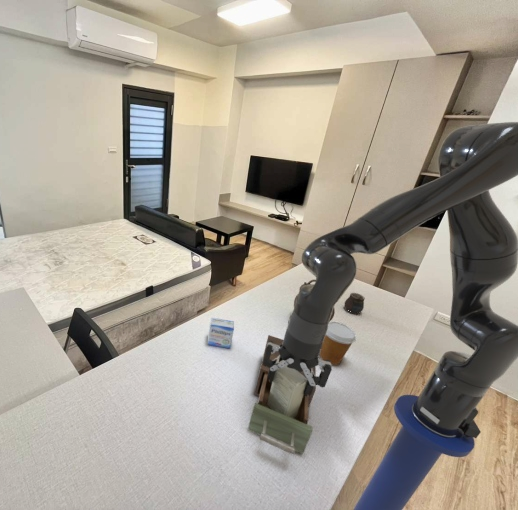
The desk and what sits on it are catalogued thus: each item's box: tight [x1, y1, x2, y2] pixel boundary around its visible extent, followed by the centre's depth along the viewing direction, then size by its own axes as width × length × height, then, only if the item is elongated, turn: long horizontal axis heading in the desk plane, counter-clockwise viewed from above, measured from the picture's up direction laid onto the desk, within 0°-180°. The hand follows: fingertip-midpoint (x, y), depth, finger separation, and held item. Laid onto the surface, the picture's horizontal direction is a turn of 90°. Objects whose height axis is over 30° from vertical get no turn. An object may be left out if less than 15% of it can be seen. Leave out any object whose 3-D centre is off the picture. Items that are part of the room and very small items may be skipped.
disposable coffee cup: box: [319, 321, 357, 366], centre depth 92 cm, size 10×10×12 cm
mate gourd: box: [344, 292, 366, 315], centre depth 121 cm, size 7×8×10 cm
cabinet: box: [253, 334, 317, 410], centre depth 80 cm, size 16×14×10 cm
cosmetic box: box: [267, 366, 308, 419], centre depth 67 cm, size 6×4×12 cm
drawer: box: [247, 373, 313, 455], centre depth 67 cm, size 19×13×8 cm, turn 155°
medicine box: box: [207, 317, 235, 349], centre depth 95 cm, size 8×4×9 cm, turn 81°
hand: (287, 386), depth 66 cm, fingers closed on cosmetic box, 7 cm apart
